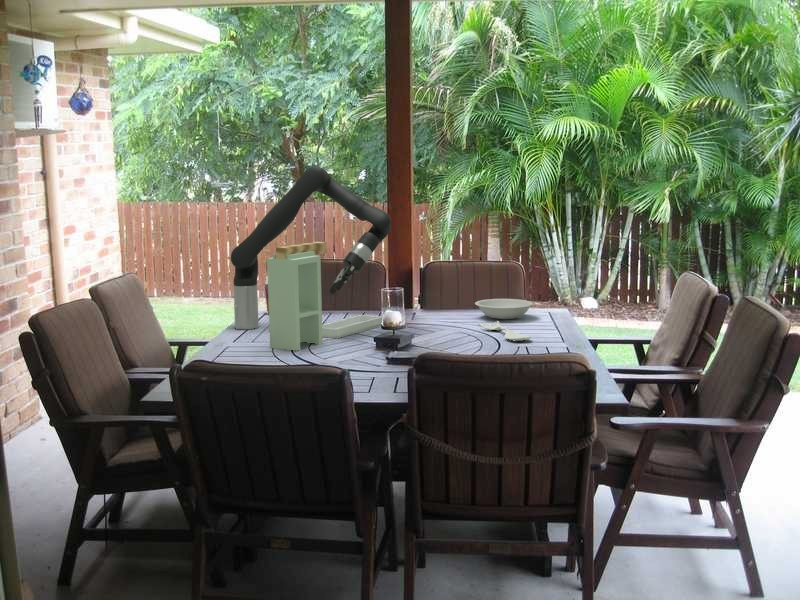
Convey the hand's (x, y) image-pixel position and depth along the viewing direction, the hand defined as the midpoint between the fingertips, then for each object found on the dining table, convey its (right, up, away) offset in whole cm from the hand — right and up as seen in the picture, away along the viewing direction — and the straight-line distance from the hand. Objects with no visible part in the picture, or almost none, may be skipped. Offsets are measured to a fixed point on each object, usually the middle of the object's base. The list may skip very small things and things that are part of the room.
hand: (333, 291), depth 334 cm
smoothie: (-30, -10, +59) cm, 66 cm away
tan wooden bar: (-10, +13, -11) cm, 20 cm away
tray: (+5, -15, +18) cm, 24 cm away
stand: (-13, -20, -10) cm, 25 cm away
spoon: (+64, -17, +5) cm, 67 cm away
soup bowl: (+68, -11, +41) cm, 80 cm away
